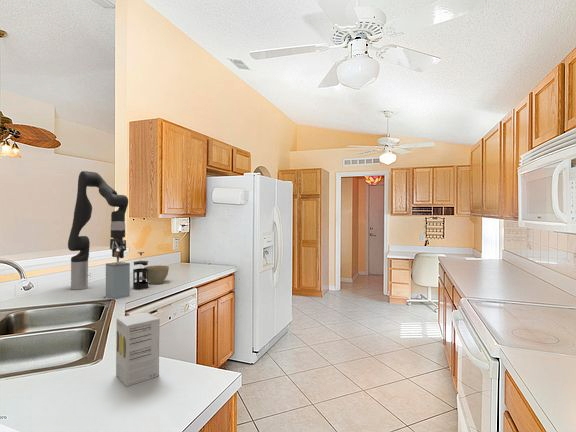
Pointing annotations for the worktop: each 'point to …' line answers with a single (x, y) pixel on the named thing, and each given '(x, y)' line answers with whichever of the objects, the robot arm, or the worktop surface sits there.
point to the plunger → (117, 255)
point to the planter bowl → (157, 274)
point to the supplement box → (137, 348)
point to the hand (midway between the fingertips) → (117, 257)
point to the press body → (117, 280)
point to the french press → (143, 283)
